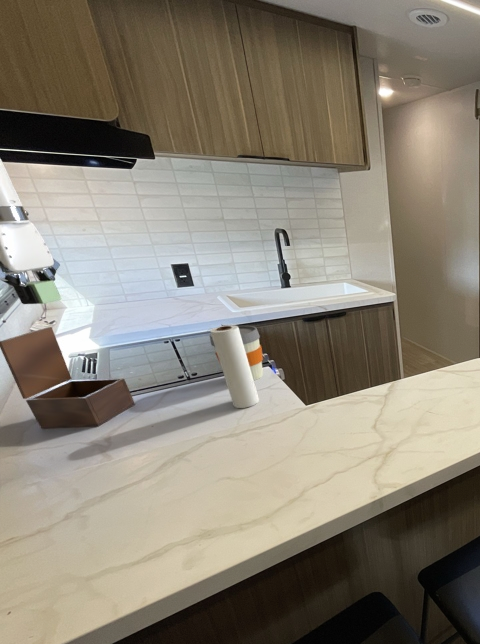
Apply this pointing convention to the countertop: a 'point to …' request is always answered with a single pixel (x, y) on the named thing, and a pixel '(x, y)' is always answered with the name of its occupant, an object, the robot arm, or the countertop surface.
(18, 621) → the countertop surface
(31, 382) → the lid
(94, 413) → the chest
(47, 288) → the block
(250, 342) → the reusable coffee cup
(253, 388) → the paper towel roll
